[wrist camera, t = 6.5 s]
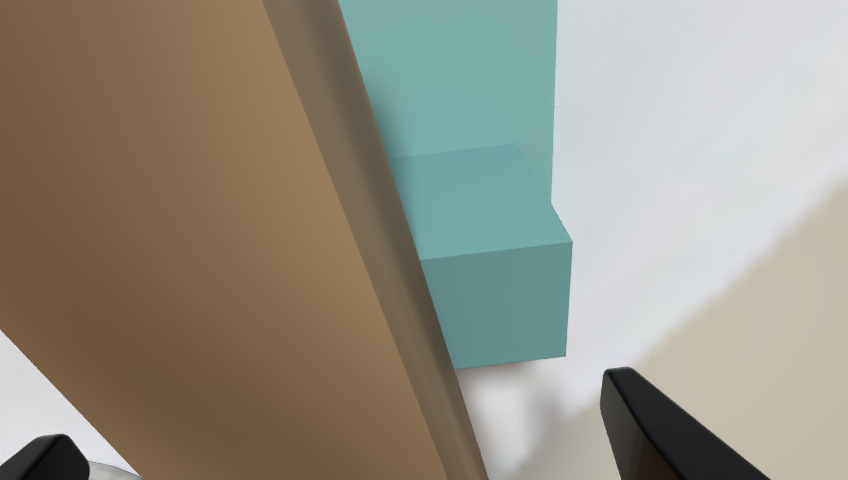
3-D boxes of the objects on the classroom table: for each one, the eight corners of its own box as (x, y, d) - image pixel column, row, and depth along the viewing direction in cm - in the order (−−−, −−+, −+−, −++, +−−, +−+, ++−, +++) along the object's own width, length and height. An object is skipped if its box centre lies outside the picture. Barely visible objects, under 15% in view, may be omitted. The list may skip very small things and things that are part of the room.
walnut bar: (238, -316, 5) (-22, -728, 2) (506, 535, 15) (540, 716, 11) (-54, -214, 6) (-718, -422, 2) (392, 557, 15) (392, 740, 12)
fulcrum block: (546, -31, 12) (655, 1, 7) (539, 311, 18) (597, 461, 13) (103, 24, 12) (-94, 95, 7) (238, 347, 18) (180, 509, 13)
